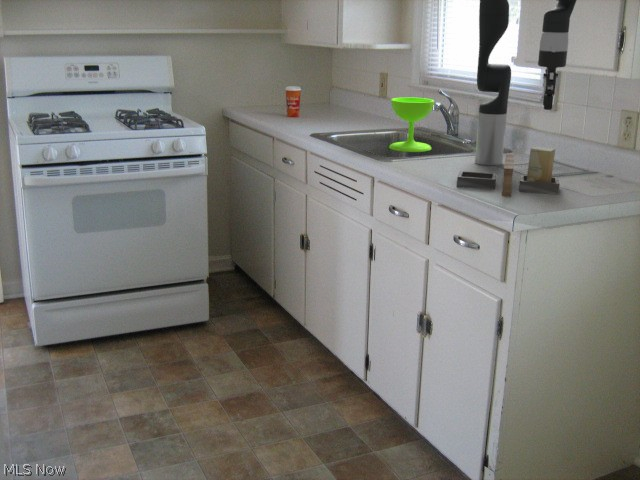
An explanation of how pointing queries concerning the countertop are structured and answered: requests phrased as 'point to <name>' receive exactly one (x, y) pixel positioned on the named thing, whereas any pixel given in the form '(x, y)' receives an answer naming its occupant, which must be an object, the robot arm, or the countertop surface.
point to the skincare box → (540, 164)
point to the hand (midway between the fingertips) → (547, 107)
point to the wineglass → (411, 120)
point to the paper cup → (293, 100)
